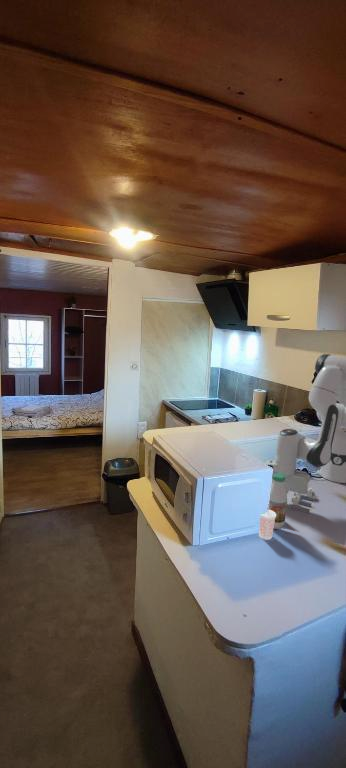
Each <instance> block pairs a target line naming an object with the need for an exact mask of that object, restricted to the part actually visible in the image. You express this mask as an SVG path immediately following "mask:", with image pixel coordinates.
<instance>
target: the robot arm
mask: <svg viewBox="0 0 346 768" xmlns="http://www.w3.org/2000/svg"><path fill="white" fill-rule="evenodd" d="M314 364H315V365H314V370H315V373H316V374H317V375H316V377H315V378H314V381H313V383H312V385H311V388H310V390H309V393H308V401H309V405H310V406H311V407H312V409H314V410H315V411H316V416H317V418H318V420H319V421H320V422H321V425H320V430H319V434H318V438H317V439H316V440H315V439H313V438H311V437H308V436H305V435H303V434H301V433H299V432H298V430H296V429H294V428H293V429H292V428H285V429H284V428H283V429H282V430H280V431H279V433H278V435H277V440H276V445H275V453H276V455H275V457H274V459H268V460H266V461H265V462H264V463H263V465H264V464H266V465H268V466H270V467H272V468H273V474H276V473H278V474H282V475H284V476H285V483H284V487H285V490H286V493H287V494H289V492H294V493H296V492H297V493H301V495H307V494H306V493H307V492H308V488H309V482H310V481H311V475H310V474H309V473H308V471H303V470H299V469H297V461H298V460H297V459H300V460H302V461H304V462H306V463H309V464H310V465H311V466H313V467H314V468H319V469H320V468H321V469H320V470H319V469H317V471H316V472H315V473H316V475H319V476H321V477H322V478H323V479H326V480H327V481H330V482H333V483H334V482H335V483H339V484H346V431H344V429H342V426H343V427H346V356H340V355H333V354H327V353H323V354H321V355H320V356H318V358H317V359H316V362H315V363H314ZM272 479H273V476H272ZM272 483H273V480H272Z"/></svg>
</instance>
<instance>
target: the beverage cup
mask: <svg viewBox="0 0 346 768" xmlns="http://www.w3.org/2000/svg"><path fill="white" fill-rule="evenodd" d="M269 502H270V500H269ZM267 510H268V511H267V512H266V513H265V514H260V516H261V518H260V527H259V526H258V536H259V537H260V539H262V540H265V541H268V540H271V539H272V538H273V532H274V529H273V528H274V522H275V518H276V513H275V512H274V511H272V510H269V504H268V508H267Z"/></svg>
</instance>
